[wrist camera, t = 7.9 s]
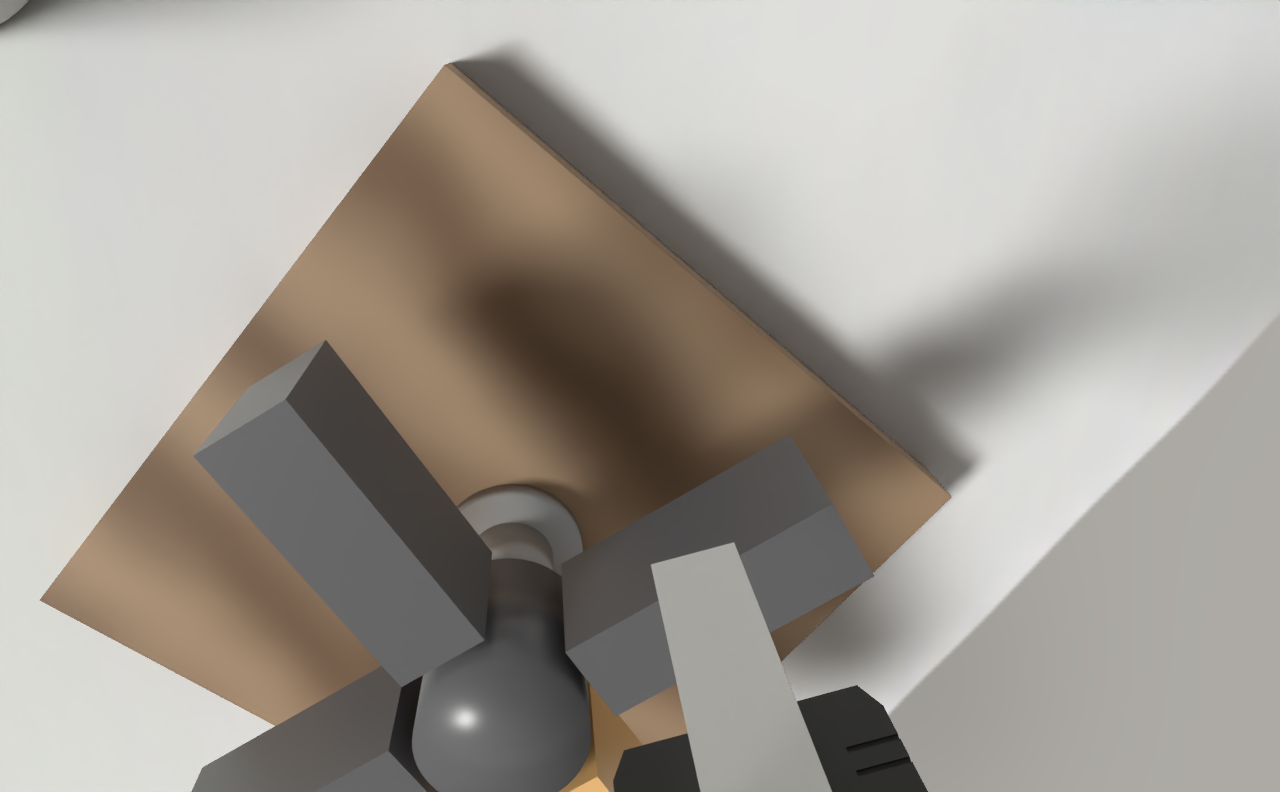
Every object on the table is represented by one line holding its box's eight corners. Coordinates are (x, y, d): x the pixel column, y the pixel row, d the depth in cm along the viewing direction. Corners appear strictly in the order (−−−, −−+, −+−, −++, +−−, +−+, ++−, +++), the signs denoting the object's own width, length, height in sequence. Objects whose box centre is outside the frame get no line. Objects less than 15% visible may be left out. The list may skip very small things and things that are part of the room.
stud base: (450, 62, 27) (428, 70, 22) (929, 471, 34) (1004, 557, 29) (68, 567, 32) (-30, 679, 27) (557, 836, 39) (560, 969, 34)
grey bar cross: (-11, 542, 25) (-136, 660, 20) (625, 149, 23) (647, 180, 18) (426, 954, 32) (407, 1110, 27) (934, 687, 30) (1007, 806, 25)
